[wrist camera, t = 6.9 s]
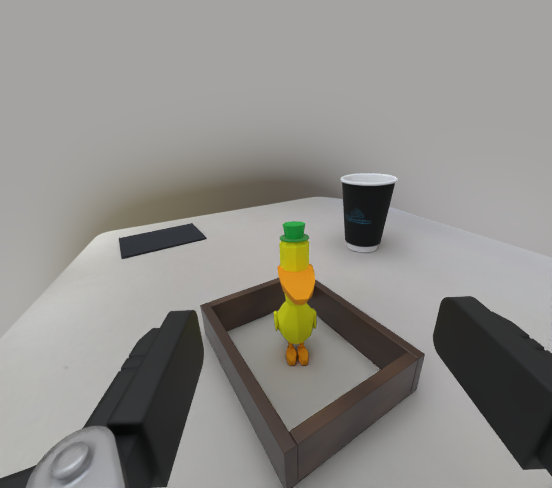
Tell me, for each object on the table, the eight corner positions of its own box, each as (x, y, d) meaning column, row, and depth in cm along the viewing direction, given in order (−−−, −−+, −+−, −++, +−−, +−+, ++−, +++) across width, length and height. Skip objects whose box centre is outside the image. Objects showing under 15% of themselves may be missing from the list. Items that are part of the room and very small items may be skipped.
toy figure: (325, 391, 20) (331, 245, 15) (277, 395, 20) (269, 248, 15) (311, 329, 26) (312, 211, 21) (274, 331, 26) (267, 213, 21)
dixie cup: (339, 256, 40) (344, 183, 36) (334, 237, 47) (337, 174, 43) (394, 257, 39) (405, 182, 35) (380, 236, 46) (388, 172, 42)
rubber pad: (121, 258, 43) (121, 257, 43) (119, 239, 51) (118, 238, 51) (206, 238, 49) (206, 237, 49) (192, 224, 57) (192, 223, 57)
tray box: (286, 492, 15) (284, 454, 13) (205, 334, 26) (199, 305, 25) (417, 388, 20) (425, 353, 18) (301, 295, 31) (301, 269, 30)
